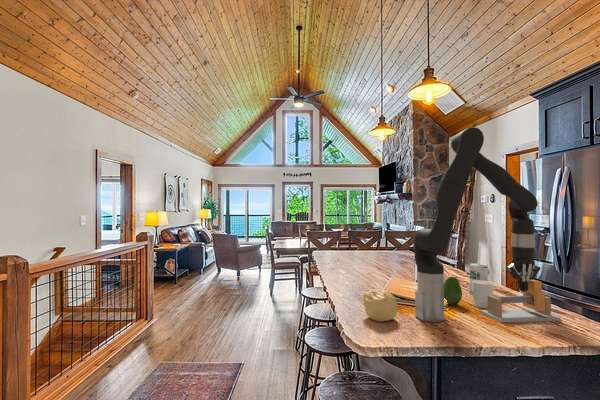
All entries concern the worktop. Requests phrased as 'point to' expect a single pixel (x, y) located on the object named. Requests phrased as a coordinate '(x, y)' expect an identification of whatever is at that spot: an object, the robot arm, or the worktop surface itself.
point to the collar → (535, 295)
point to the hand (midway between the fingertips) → (523, 290)
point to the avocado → (452, 291)
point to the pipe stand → (517, 310)
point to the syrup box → (478, 273)
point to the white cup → (481, 292)
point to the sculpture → (380, 305)
